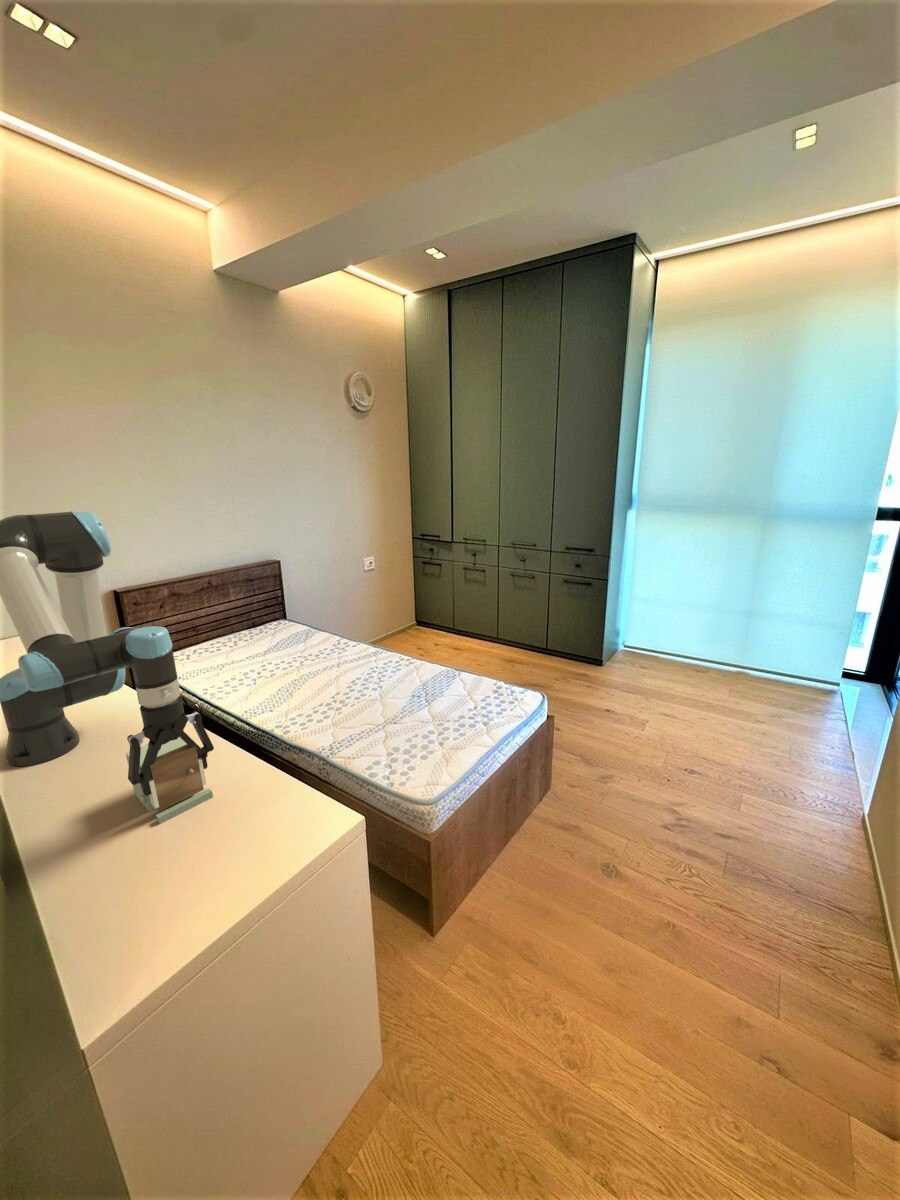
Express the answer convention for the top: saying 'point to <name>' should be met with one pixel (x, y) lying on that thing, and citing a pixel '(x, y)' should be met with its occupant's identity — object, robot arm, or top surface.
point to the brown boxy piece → (176, 776)
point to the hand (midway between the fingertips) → (179, 793)
